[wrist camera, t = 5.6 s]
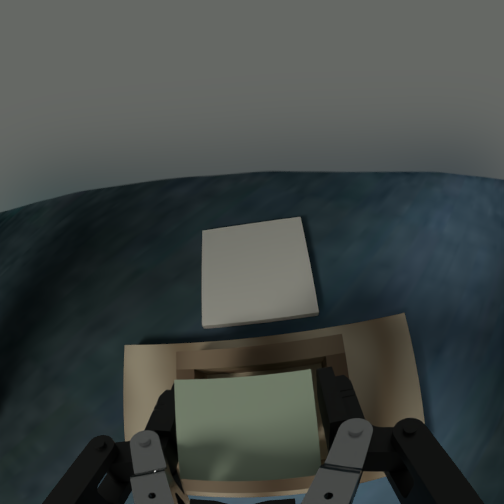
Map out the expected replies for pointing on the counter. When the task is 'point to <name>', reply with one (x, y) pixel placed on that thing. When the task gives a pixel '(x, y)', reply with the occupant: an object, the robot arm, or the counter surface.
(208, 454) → the sage block
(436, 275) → the counter surface
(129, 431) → the puzzle board
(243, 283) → the white tile
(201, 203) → the counter surface
